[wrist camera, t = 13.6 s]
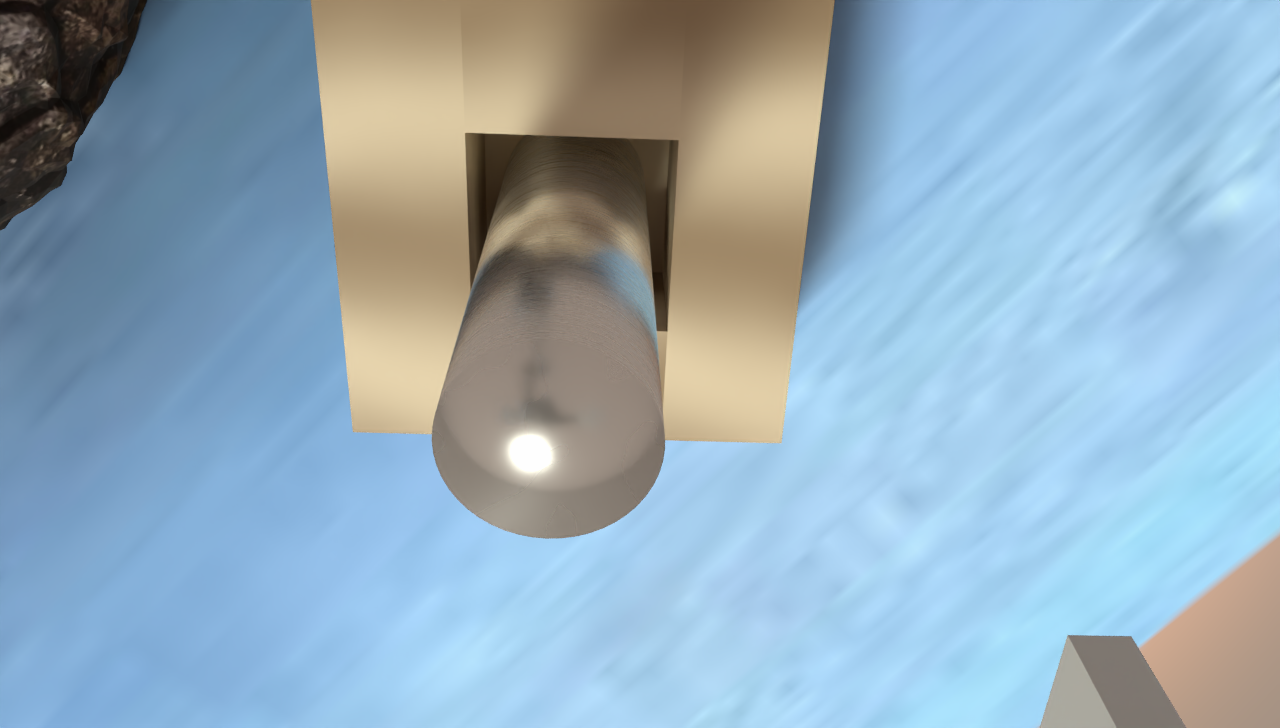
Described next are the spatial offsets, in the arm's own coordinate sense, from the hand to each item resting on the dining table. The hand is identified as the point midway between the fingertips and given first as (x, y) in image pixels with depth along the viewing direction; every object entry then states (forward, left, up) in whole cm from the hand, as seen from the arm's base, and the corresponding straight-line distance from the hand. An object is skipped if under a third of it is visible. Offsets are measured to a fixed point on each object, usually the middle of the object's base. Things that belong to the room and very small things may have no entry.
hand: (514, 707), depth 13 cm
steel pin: (0, 0, -20) cm, 20 cm away
